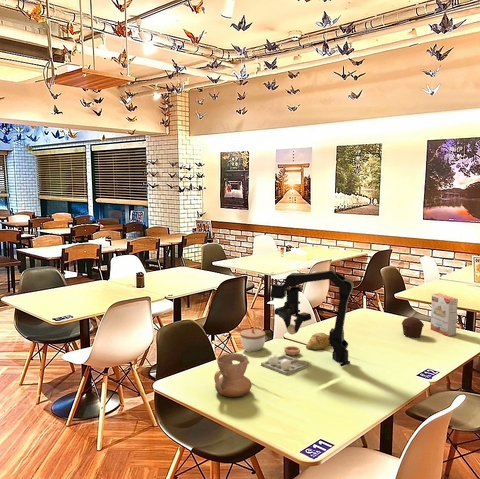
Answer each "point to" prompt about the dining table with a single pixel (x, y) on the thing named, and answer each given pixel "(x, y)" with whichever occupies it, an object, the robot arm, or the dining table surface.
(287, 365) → the white egg
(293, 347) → the small terracotta bowl
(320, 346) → the croissant
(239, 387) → the ceramic jug
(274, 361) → the white egg
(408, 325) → the muffin
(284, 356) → the egg carton
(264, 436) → the dining table surface
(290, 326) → the brown egg
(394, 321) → the dining table surface
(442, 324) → the cracker box
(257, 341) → the lidded bowl
